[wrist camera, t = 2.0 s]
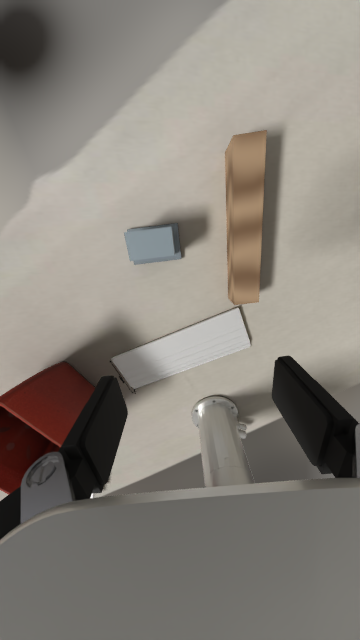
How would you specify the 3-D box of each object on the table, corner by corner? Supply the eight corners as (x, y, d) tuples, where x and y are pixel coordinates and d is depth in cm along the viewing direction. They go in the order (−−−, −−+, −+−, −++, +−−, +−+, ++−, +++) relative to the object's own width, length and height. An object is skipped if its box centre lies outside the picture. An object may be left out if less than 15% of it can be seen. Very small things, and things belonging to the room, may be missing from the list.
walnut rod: (248, 295, 38) (258, 302, 33) (227, 297, 38) (234, 304, 33) (252, 148, 29) (266, 130, 24) (224, 153, 29) (233, 135, 24)
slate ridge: (181, 258, 34) (181, 261, 28) (135, 264, 35) (125, 268, 28) (177, 223, 32) (177, 217, 26) (128, 230, 33) (115, 225, 26)
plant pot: (63, 342, 41) (-6, 401, 26) (120, 394, 47) (91, 467, 32) (12, 380, 45) (-76, 451, 30) (70, 424, 51) (22, 501, 36)
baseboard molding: (251, 349, 43) (236, 305, 39) (256, 356, 40) (240, 309, 36) (137, 390, 47) (112, 355, 43) (134, 399, 45) (108, 362, 41)
